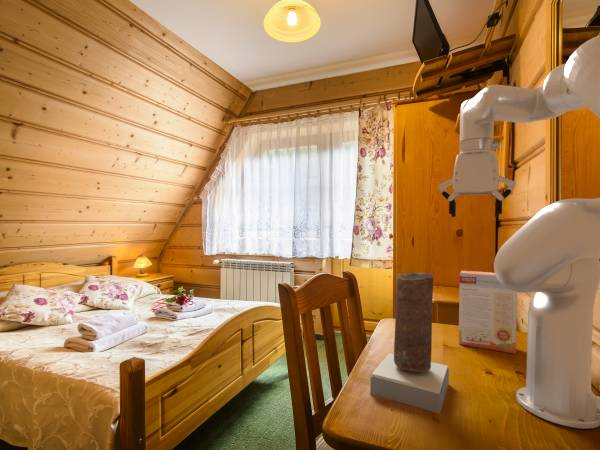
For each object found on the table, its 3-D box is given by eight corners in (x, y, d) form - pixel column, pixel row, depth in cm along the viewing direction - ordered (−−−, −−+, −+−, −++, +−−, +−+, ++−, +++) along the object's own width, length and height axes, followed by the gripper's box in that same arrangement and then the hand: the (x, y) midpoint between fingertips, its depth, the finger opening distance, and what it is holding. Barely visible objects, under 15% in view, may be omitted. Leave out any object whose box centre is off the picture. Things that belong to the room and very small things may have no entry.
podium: (448, 384, 71) (448, 365, 71) (440, 413, 60) (440, 391, 60) (388, 369, 77) (388, 352, 77) (370, 393, 66) (370, 373, 66)
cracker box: (515, 348, 93) (516, 273, 93) (516, 355, 88) (517, 276, 87) (459, 338, 100) (461, 269, 100) (458, 344, 95) (459, 271, 95)
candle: (435, 379, 64) (437, 277, 64) (396, 376, 65) (398, 275, 65) (426, 363, 72) (428, 271, 71) (391, 360, 73) (393, 270, 73)
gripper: (516, 148, 82) (514, 217, 82) (440, 155, 91) (439, 217, 91) (518, 142, 75) (516, 217, 75) (436, 149, 84) (435, 216, 84)
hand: (474, 217), depth 83 cm, fingers open, 9 cm apart
